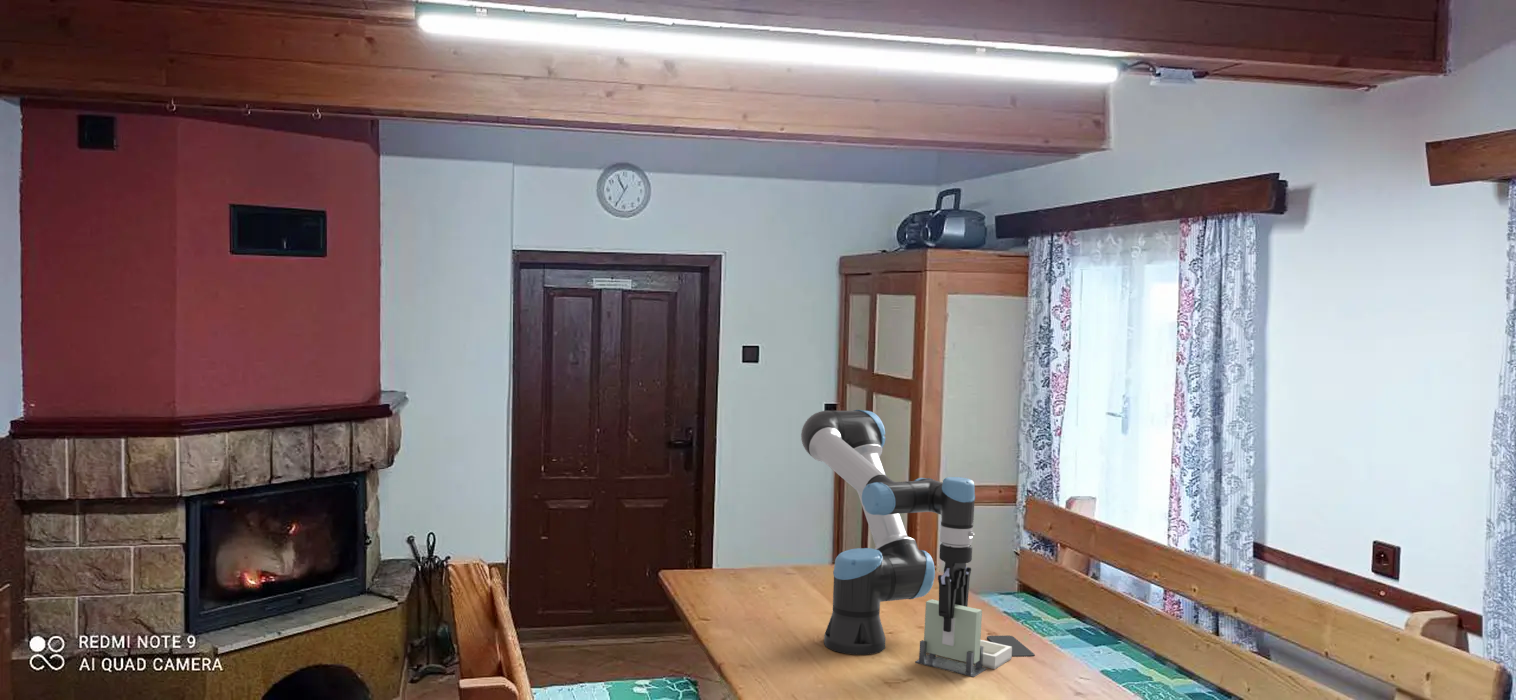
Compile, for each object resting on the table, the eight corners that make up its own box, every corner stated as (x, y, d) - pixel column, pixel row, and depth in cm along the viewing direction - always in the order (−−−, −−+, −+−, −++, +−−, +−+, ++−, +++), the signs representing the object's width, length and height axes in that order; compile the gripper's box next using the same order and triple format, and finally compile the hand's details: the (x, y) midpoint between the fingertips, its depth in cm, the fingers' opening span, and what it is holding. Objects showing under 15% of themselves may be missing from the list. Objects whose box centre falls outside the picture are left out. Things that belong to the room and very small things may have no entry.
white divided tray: (925, 652, 268) (926, 640, 268) (943, 643, 276) (944, 631, 276) (994, 669, 258) (995, 656, 258) (1011, 658, 266) (1011, 646, 266)
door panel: (981, 659, 257) (984, 608, 257) (974, 663, 254) (976, 612, 253) (931, 647, 265) (933, 598, 264) (923, 651, 261) (925, 601, 261)
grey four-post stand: (915, 662, 260) (916, 640, 260) (928, 655, 266) (929, 633, 266) (973, 677, 252) (974, 654, 252) (986, 669, 258) (987, 647, 257)
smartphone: (1008, 655, 268) (985, 635, 282) (1007, 659, 268) (985, 638, 282) (1036, 654, 269) (1012, 635, 284) (1036, 658, 269) (1012, 638, 284)
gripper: (955, 552, 249) (951, 654, 250) (985, 541, 262) (981, 637, 263) (925, 546, 253) (921, 647, 254) (956, 536, 267) (952, 631, 268)
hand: (951, 642), depth 259 cm, fingers closed on door panel, 3 cm apart
